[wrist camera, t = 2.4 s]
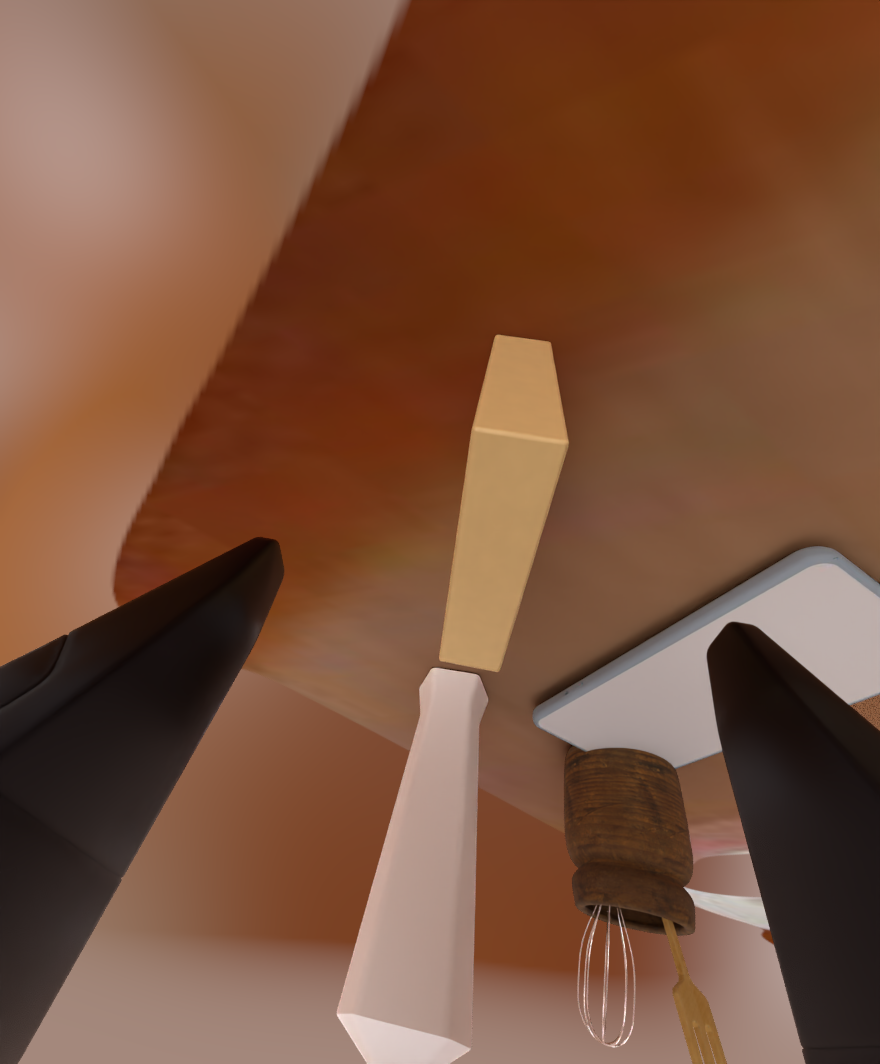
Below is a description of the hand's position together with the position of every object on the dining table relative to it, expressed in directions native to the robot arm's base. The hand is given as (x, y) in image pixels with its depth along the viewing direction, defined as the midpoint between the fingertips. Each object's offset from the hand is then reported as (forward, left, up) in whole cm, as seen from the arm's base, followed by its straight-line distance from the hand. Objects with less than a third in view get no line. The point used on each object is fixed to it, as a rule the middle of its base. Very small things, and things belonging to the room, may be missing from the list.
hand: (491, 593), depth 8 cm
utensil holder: (-10, +18, -7) cm, 22 cm away
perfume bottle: (0, +15, -7) cm, 17 cm away
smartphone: (-11, +10, -7) cm, 16 cm away
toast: (0, 0, -7) cm, 7 cm away
